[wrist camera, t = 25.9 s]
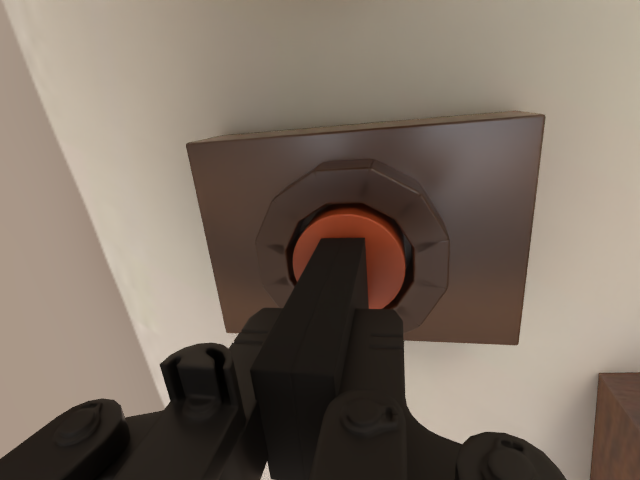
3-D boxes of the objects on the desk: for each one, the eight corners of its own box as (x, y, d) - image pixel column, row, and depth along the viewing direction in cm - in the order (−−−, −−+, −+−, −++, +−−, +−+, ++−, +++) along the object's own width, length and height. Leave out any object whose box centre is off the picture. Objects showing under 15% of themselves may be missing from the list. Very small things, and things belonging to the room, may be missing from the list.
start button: (298, 202, 14) (285, 215, 12) (404, 197, 13) (405, 211, 12) (308, 293, 15) (298, 315, 14) (405, 294, 15) (406, 318, 13)
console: (220, 135, 17) (157, 149, 13) (517, 110, 15) (571, 116, 10) (250, 299, 21) (208, 358, 16) (499, 305, 18) (534, 377, 13)
